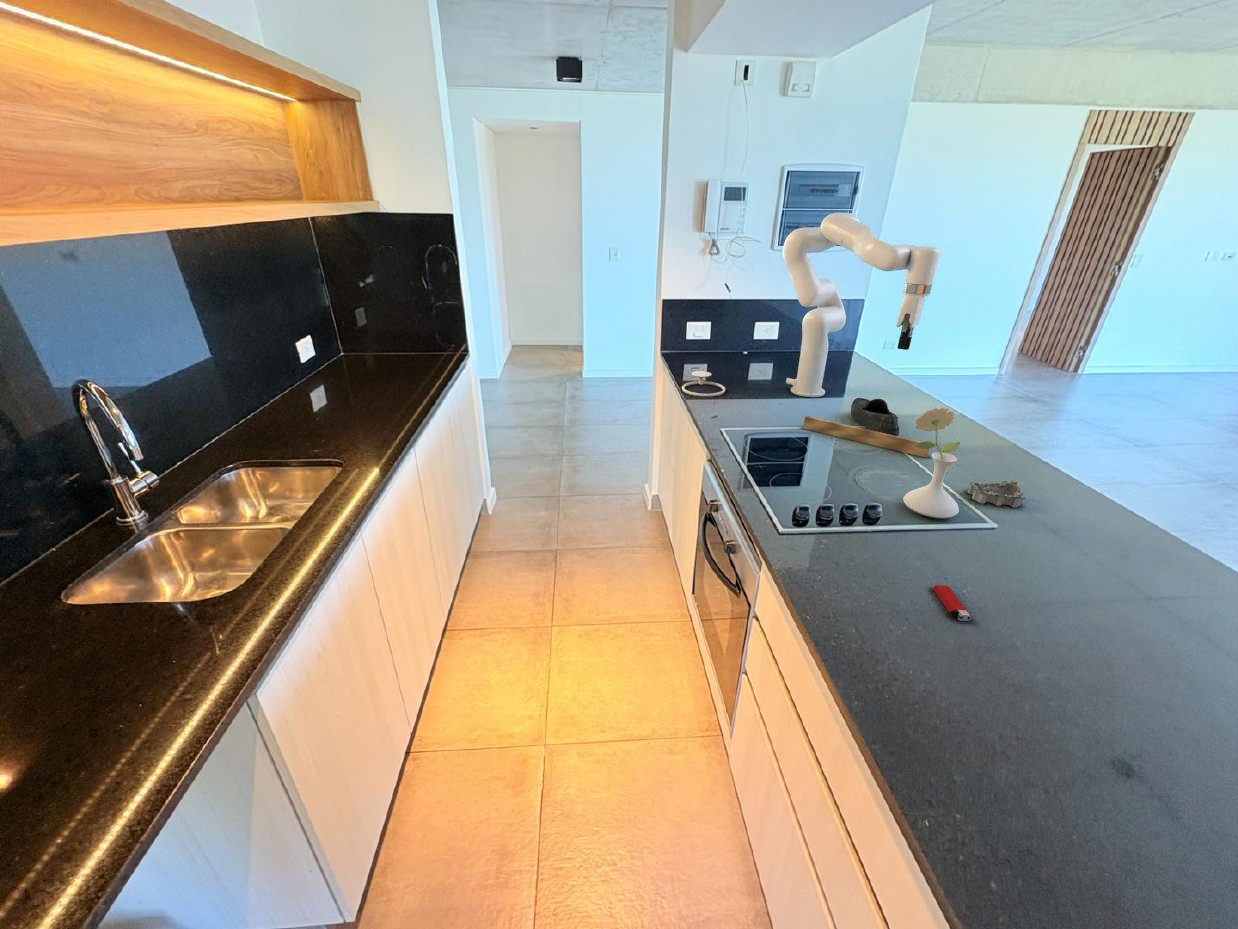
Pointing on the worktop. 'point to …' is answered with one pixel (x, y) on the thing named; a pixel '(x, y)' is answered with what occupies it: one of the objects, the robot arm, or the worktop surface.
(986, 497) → the egg carton
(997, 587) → the worktop surface
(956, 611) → the lighter
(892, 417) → the loafer
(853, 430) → the long wooden plank
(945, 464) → the flower in vase
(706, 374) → the hand towel holder
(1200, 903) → the worktop surface
